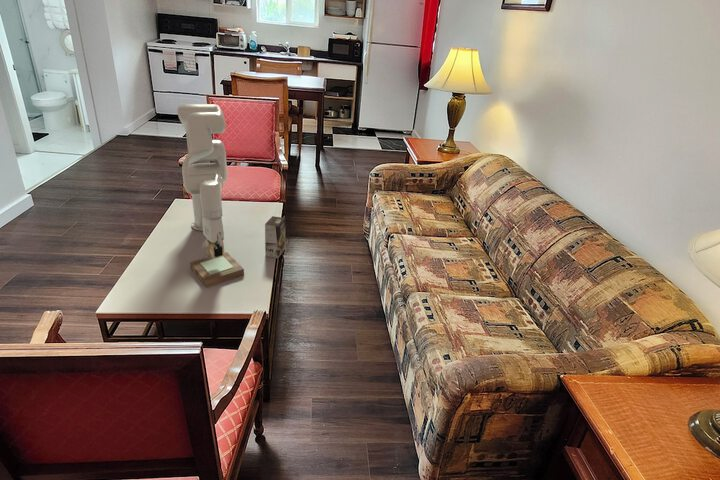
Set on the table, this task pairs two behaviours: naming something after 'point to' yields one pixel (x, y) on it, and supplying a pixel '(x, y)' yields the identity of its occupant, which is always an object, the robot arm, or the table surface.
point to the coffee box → (275, 237)
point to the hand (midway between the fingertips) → (215, 252)
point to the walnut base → (216, 269)
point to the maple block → (212, 248)
